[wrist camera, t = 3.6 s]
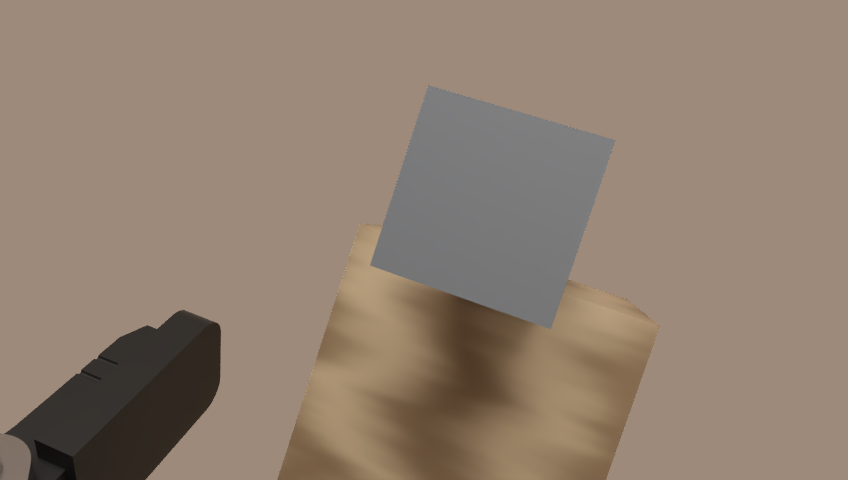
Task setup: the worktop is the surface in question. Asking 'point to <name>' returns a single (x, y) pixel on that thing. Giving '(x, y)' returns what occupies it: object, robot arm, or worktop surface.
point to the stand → (465, 384)
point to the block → (491, 205)
